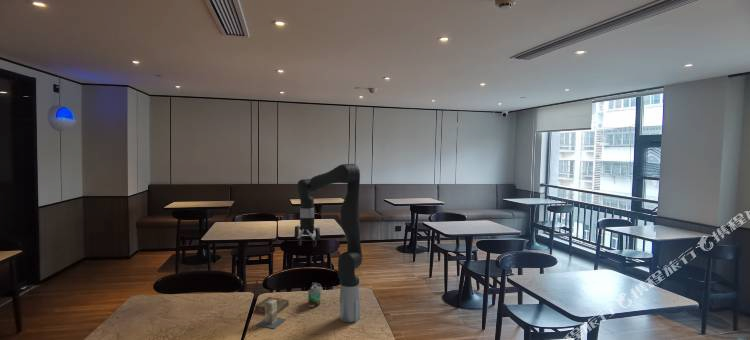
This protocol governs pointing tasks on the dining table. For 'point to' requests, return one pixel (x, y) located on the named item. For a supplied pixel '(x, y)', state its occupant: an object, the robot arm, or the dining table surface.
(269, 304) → the beech peg
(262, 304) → the walnut eye block
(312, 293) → the food container
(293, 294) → the dining table surface
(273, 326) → the blue-grey square plate
